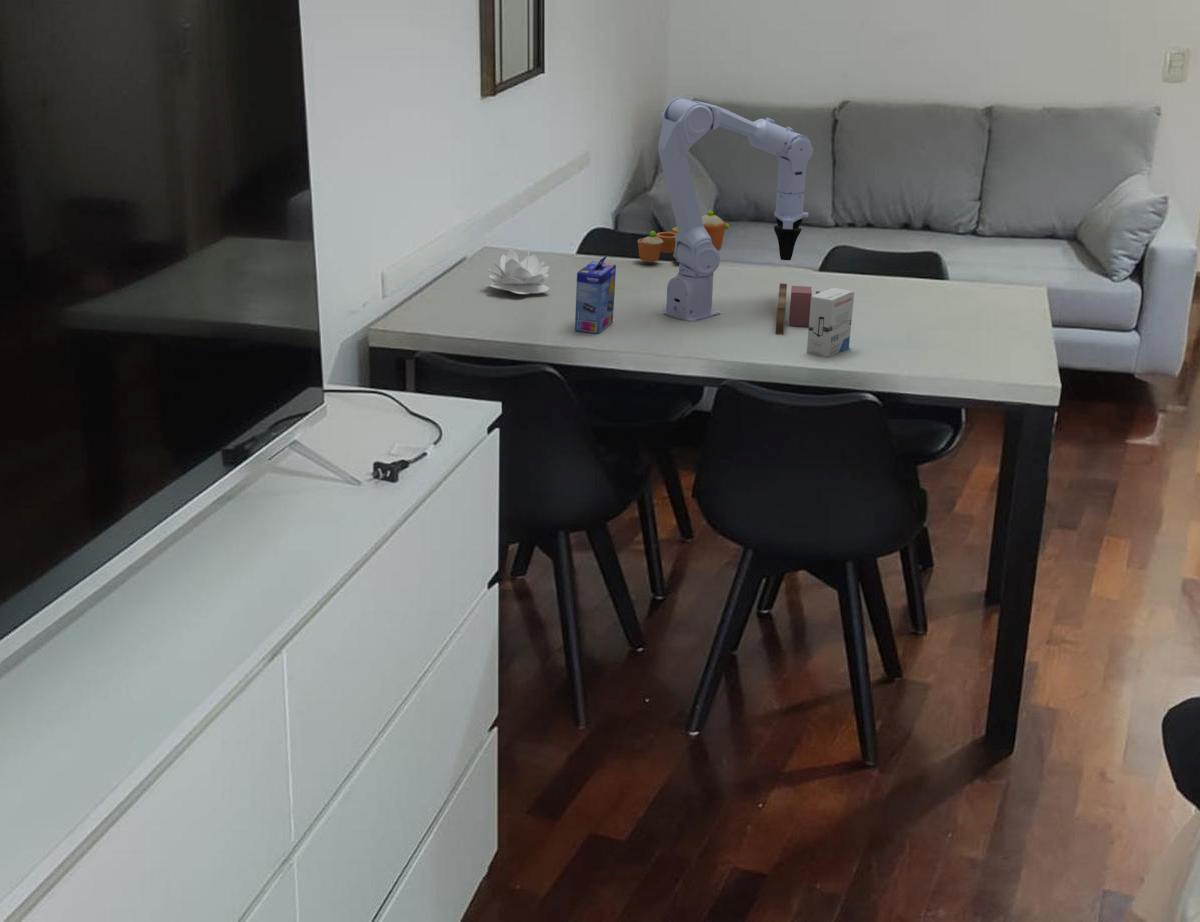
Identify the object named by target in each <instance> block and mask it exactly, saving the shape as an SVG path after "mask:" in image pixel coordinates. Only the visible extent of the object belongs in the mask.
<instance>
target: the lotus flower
mask: <svg viewBox="0 0 1200 922" xmlns="http://www.w3.org/2000/svg"><path fill="white" fill-rule="evenodd" d="M527 250H528V251H527V256H526V257H525V258H524V259H523V260H521V261H520V262H519V257H518V254H517V252H516V251H515V250H514V249H513V248H510V249H509V250H508V251H507V255H505V254H502V255H501V257H500V260H499V264H498V263H497V262H496V261H495V260H492V262H493V264H494V266H495V267H496V268H497V269H498V271H499V272H500V274H499V273H497V272H496V271H494V270H492V269H491V268H486V269H487V270H488V271H489V273H491V274H492V275H488V277H489V279H490V281H492V282H493V283H494V284H493V283H492V284H491V283H490V285H489V287H490V288H494V289H496V290H497V289H498V290H503V291H509V292H511V293H514V294H518V295H531V294H542V293H546V292H550V287H549V286H547V285H545V284H542V283H544V282H546V281H547V280H548V279H549V273H548V272H549V270H550V266H549V265H547V266H544V265H545V262H546V261H545V260H542V261H541V262H540V261H539V258H538V257H537V255H535V254H532V255H530V253H529V252H530V249H527Z"/></svg>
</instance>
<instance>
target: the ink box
mask: <svg viewBox="0 0 1200 922" xmlns="http://www.w3.org/2000/svg"><path fill="white" fill-rule="evenodd" d="M854 297H855V292H854V291H852V290H847V289H843V288H837V287H831V288H829V289H827V290H824V291H820V293H818V294H816V293H815V294H812V296H811V304H810V318H809V327H808V332H807V345H806V346H807V347H806V353H807V354H811V355H816V356H820V357H823V358H829V357H832V356H834V355H836V354H839V353H841V352H844V351H846V350H848V349H849V348H850V343H851V342H850V340H851V331H852V319H853V310H854V302H855V301H854V299H855V298H854Z"/></svg>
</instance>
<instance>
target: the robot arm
mask: <svg viewBox="0 0 1200 922" xmlns="http://www.w3.org/2000/svg"><path fill="white" fill-rule="evenodd" d="M661 121H662V125H661V130H660V134H659V135H660V136H659V139H658V142H657V152H658V155H659V160H660V164H661V167H662V168H661V169H662V171H663V175H664V176H663V177H664V179H665V180H664V181H665V183H666V188H667V192H668V195H669V200H670V203H671V208H672V211H673V216H674V220H675V225H676V227H677V228H678V231H677V233H676V234H675V236H674V237H675V241H676V245H675V251H674V252H673V254H675V258H674V259H675V260H676V261H677V262H678V264H679V267H678V273H677V274H676V275H675V276H674V277H672V278H671V279H669V281H668V283H667V287H666V289H667V290H666V304H665V305H666V310H664V311H662V313H663V315H665V314H666V315H665V316H668V315H670V316H669V317H672V316H673V317H672V318H675V317H676V318H675V319H678V318H679V319H678V320H681V319H682V320H681V321H686V322H688V321H689V322H690V323H691V322H692V321H693V322H696V321H700V320H703V319H707V318H711V317H715V316H718V315H720V314H721V311H719V310H716V309H713V308H712V307H713V292H714V291H713V290H714V288H713V287H714V273H715V272H716V271H717V269H718V268H719V265H720V262H721V256H720V252H719V251H718V250H717V249H716V248H715V247H714V246H713V244H712V240H711V237H710V236H709V234H708V233H707V231H706V229H705V228H704V226H703V222H702V214H701V210H700V206H699V202H698V197H697V193H696V190H695V185H694V180H693V177H692V172H691V168H690V163H689V161H688V157H687V153H688V152H689V150H691V147H692V146H694V145H695V144H696V143H697V142H698V141H699V140H700V139H701V138H702V137H704V135H706V133H708V132H709V130H712V131H714V130H716V129H717V128H719V127H721V128H723V129H727V130H729V131H732V132H735V133H738V134H740V135H743V136H745V137H747V140H748V143H749V144H750V146H752V147H754V148H757V149H759V150H762V151H763V152H766V153H769V154H772V155H774V156H777V157H778V168H777V169H778V170H777V185H776V196H775V197H776V198H775V199H776V201H775V210H774V217H775V221H776V224H777V225H775V224H774V227H773V230H774V233H775V235H776V239H777V242H778V250H779V258H780V260H781V261H791V260H792V257H793V254H794V250H795V245H796V242H797V239H798V237H799V236H800V235H801V232H802V228H801V227H800V225H801V223H802V222H803V218H809V212H808V211H804V203H805V190H806V178H807V177H806V175H807V168H808V163H809V160H810V159H811V158H812V156H813V154H814V149H815V148H813V147H812V142H811V140H810V139H809V137H808V136H806V135H803V134H800V133H798V132H795V131H794V129H793V128H792V127H790V126H786V127H784V126H781V125H779V124H777V123H775V119H772V118H770V117H766V118H759V119H757V120H755V121H752V120H750V119H748V118H745V117H743V116H741V115H738V114H737V113H734V112H732V111H730V110H728V109H726V108H723V107H720V106H718V105H715V104H712V103H708V102H707V103H706V102H702V101H699V100H694V99H692V100H691V99H689V98H687V97H684V96H678V97H675V98H673V99H672V100H671V101H669V102H668V104H667V106H666V107H665V108H664V110H663V112H662V113H661ZM693 322H692V323H693Z"/></svg>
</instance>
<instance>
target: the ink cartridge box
mask: <svg viewBox="0 0 1200 922" xmlns="http://www.w3.org/2000/svg"><path fill="white" fill-rule="evenodd" d="M607 256H608V255H607V254H605V256H603V257H602V258H601V259H599V261H591V262H589V264H587V265H586V266H585V267H582V268H581V269H580V270H579V271H578V272H576V288H575V289H576V291H575V316H574V317H575V319H574V320H575V321H574V331H577V332H582V333H583V332H584V333H589V334H594V335H599V334H600V333H601V332H603V331H604V330H605V329H607V327H609V326H611V324H612V323H613V322H614V311H615V310H614V308H615V307H614V306H615V292H616V289H615V288H616V272H617V265H616V264H614V263H609V262H605V261H606V258H607Z"/></svg>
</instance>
